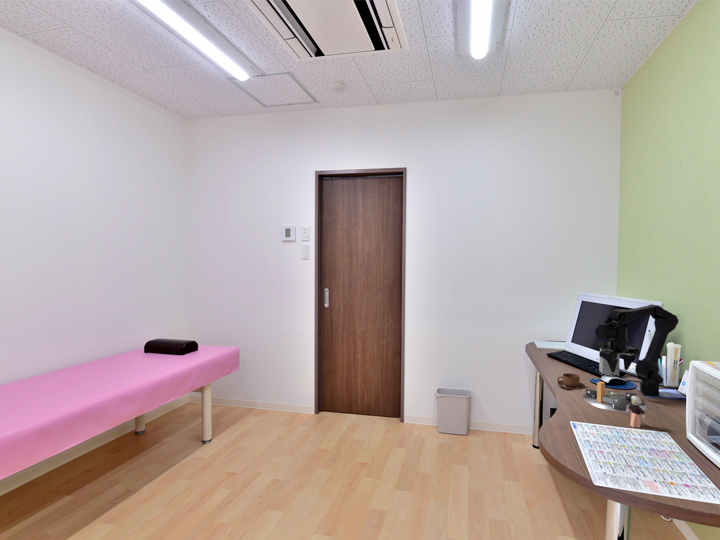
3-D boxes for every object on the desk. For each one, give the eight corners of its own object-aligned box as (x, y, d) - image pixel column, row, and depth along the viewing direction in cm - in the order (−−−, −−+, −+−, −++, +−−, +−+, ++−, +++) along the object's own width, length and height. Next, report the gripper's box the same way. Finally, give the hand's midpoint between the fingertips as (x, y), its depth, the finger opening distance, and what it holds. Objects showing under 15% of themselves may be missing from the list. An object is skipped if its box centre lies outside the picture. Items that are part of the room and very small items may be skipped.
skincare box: (602, 376, 214) (602, 346, 213) (598, 372, 220) (598, 343, 220) (620, 377, 211) (620, 347, 211) (616, 373, 218) (616, 344, 217)
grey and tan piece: (629, 409, 165) (629, 389, 165) (621, 411, 164) (621, 391, 163) (602, 399, 176) (603, 381, 176) (595, 401, 175) (595, 382, 174)
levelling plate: (636, 397, 183) (636, 386, 182) (656, 417, 160) (656, 405, 160) (577, 392, 190) (577, 381, 190) (588, 411, 168) (588, 399, 168)
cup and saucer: (565, 392, 191) (566, 379, 191) (552, 384, 203) (552, 372, 203) (590, 391, 191) (590, 379, 191) (575, 383, 203) (576, 371, 203)
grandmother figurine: (622, 425, 153) (622, 393, 153) (629, 424, 155) (629, 392, 154) (642, 434, 146) (643, 400, 146) (649, 432, 148) (650, 398, 147)
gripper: (617, 332, 193) (617, 364, 194) (588, 336, 187) (588, 369, 187) (640, 336, 183) (640, 370, 183) (611, 341, 176) (611, 375, 177)
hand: (619, 371), depth 183 cm, fingers open, 8 cm apart
